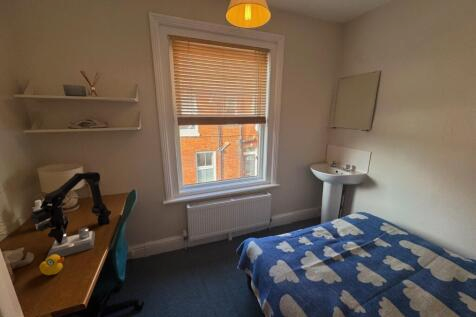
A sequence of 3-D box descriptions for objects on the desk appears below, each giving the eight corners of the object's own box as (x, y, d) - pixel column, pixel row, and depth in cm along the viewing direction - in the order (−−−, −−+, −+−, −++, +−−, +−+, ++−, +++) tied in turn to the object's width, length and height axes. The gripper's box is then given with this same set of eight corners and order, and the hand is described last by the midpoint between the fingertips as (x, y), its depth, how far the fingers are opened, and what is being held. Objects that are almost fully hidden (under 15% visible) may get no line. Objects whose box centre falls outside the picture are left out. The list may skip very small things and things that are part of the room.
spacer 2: (89, 233, 125) (88, 226, 124) (89, 237, 121) (88, 230, 120) (80, 236, 123) (78, 229, 122) (79, 240, 119) (77, 233, 118)
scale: (94, 234, 130) (93, 228, 129) (93, 248, 117) (91, 241, 116) (54, 244, 120) (53, 237, 119) (47, 260, 106) (45, 253, 105)
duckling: (70, 268, 101) (67, 251, 99) (62, 276, 96) (58, 259, 94) (47, 269, 101) (43, 252, 98) (37, 277, 95) (33, 259, 93)
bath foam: (47, 228, 136) (42, 201, 132) (34, 231, 133) (28, 203, 129) (51, 223, 142) (46, 197, 138) (39, 225, 139) (33, 199, 135)
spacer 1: (68, 238, 120) (67, 231, 119) (67, 243, 116) (65, 235, 115) (57, 241, 117) (56, 234, 116) (55, 246, 113) (54, 238, 112)
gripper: (42, 211, 116) (47, 235, 120) (31, 226, 101) (38, 253, 104) (66, 207, 122) (71, 229, 125) (60, 220, 107) (65, 245, 110)
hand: (61, 238), depth 116 cm, fingers open, 9 cm apart
